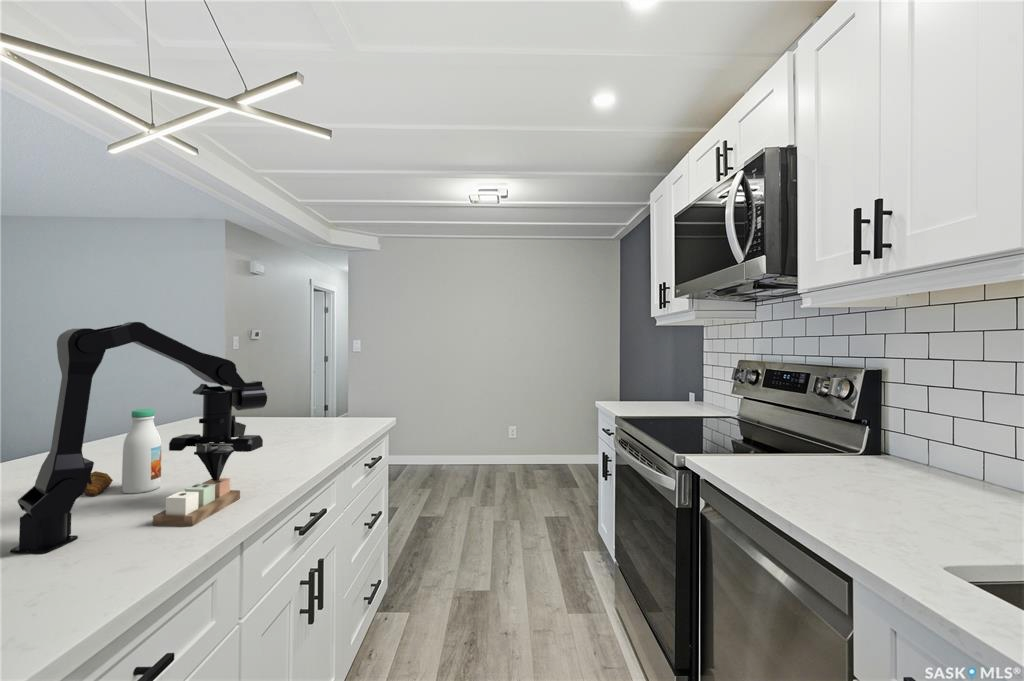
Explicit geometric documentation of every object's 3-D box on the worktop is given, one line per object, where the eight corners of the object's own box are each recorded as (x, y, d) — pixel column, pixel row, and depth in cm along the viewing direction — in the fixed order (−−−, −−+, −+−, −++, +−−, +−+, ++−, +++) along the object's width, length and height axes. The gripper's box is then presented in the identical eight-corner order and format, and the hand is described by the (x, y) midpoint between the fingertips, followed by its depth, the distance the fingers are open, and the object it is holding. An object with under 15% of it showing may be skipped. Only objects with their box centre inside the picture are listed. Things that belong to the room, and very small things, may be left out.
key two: (203, 507, 103) (203, 488, 103) (184, 507, 103) (185, 488, 103) (214, 501, 107) (215, 483, 107) (196, 501, 107) (197, 482, 107)
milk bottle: (139, 495, 114) (141, 412, 115) (113, 493, 116) (115, 411, 116) (168, 486, 122) (170, 408, 122) (143, 483, 124) (145, 407, 124)
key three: (219, 500, 108) (219, 482, 108) (201, 500, 108) (202, 482, 108) (229, 495, 112) (230, 477, 112) (212, 495, 112) (213, 477, 112)
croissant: (80, 486, 121) (80, 467, 121) (114, 482, 126) (114, 463, 126) (72, 501, 111) (73, 479, 111) (110, 496, 115) (111, 475, 115)
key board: (192, 526, 96) (192, 516, 96) (152, 525, 96) (153, 515, 96) (240, 498, 113) (240, 490, 113) (206, 498, 113) (206, 489, 113)
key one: (185, 517, 97) (185, 497, 97) (165, 517, 97) (166, 496, 97) (198, 510, 101) (198, 490, 101) (179, 510, 101) (179, 490, 101)
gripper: (274, 408, 119) (273, 471, 119) (199, 407, 118) (198, 470, 118) (250, 415, 107) (249, 484, 107) (167, 414, 107) (166, 483, 107)
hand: (216, 479), depth 110 cm, fingers closed, pressing on key three
